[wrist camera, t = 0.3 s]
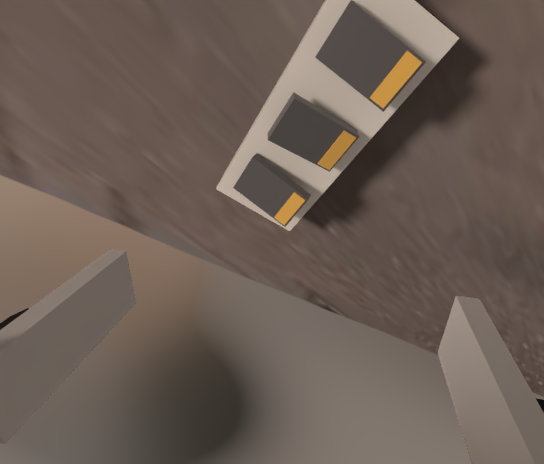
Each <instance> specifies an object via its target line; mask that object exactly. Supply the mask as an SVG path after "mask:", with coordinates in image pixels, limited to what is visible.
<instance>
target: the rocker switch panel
mask: <svg viewBox="0 0 544 464" xmlns="http://www.w3.org/2000/svg"><path fill="white" fill-rule="evenodd" d="M350 1H351V0H325V1H324V3H323V4H322V6H321V8H320V10H319V11H318V13H317V15H316V17H315V18H314V20H313V22H312V23H311V25H310V27H309V29H308V30H307V32H306V34H305V35H304V37H303V39H302V41H301V42H300V44H299V46H298V47H297V49H296V51H295V53H294V54H293V56H292V58H291V59H290V61H289V63H288V65H287V66H286V68H285V70H284V71H283V73H282V75H281V77H280V78H279V80H278V82H277V83H276V85H275V87H274V89H273V90H272V92H271V94H270V96H269V97H268V99H267V101H266V102H265V104H264V106H263V108H262V109H261V111H260V113H259V114H258V116H257V118H256V120H255V121H254V123H253V125H252V126H251V128H250V130H249V132H248V133H247V135H246V137H245V138H244V140H243V142H242V144H241V145H240V147H239V149H238V150H237V152H236V154H235V156H234V157H233V159H232V161H231V162H230V164H229V166H228V168H227V169H226V171H225V173H224V175H223V177H222V179H221V180H220V182H219V184H218V186H217V188H216V189H217V190H219V191H220V192H222V193H224V194H226V195H227V196H229V197H231V198H232V199H234V200H236V201H238V202H239V203H241V204H243V205H245V206H246V207H248V208H250V209H252V210H253V211H255V212H257V213H259V214H260V215H262V216H264V217H266V218H267V219H269V220H271V221H273V222H274V223H276V224H278V225H280V226H281V227H283V228H285V229H287V230H288V231H290V230H291V229H292V228H293V227H294V226H295V225H296V224H297V223H298V221H299V220H300V219H301V218H302V217H303V216H304V215H305V213H306V212H307V211H308V210H309V209H310V208H311V207H312V205H313V204H314V203H315V202H316V201H317V200H318V199H319V198H320V196H321V195H322V194H323V193H324V192H325V191H326V190H327V188H328V187H329V186H330V185H331V184H332V183H333V182H334V180H335V179H336V178H337V177H338V176H339V175H340V174H341V172H342V171H343V170H344V169H345V168H346V167H347V166H348V165H349V163H350V162H351V161H352V160H353V159H354V158H355V157H356V155H357V154H358V153H359V152H360V151H361V150H362V149H363V147H364V146H365V145H366V144H367V143H368V142H369V141H370V139H371V138H372V137H373V136H374V135H375V134H376V133H377V132H378V130H379V129H380V128H381V127H382V126H383V125H384V124H385V122H386V121H387V120H388V119H389V118H390V117H391V116H392V114H393V113H394V112H395V111H396V110H397V109H398V108H399V107H400V105H401V104H402V103H403V102H404V101H405V100H406V99H407V97H408V96H409V95H410V94H411V93H412V92H413V91H414V89H415V88H416V87H417V86H418V85H419V84H420V83H421V81H422V80H423V79H424V78H425V77H426V76H427V75H428V74H429V72H430V71H431V70H432V69H433V68H434V67H435V66H436V64H437V63H438V62H439V61H440V60H441V59H442V58H443V56H444V55H445V54H446V53H447V52H448V51H449V50H450V48H451V47H452V46H453V45H454V44H455V43H456V42H457V41H458V39H459V37H457V36H456V35H455V34H454V33H453V32H452V31H450V30H449V29H448V28H447V27H446V26H444V25H443V24H442V23H441V22H440V21H439V20H437V19H436V18H435V17H434V16H433V15H431V14H430V13H429V12H428V11H427V10H425V9H424V8H423V7H422V6H421V5H420V4H418V3H417V2H416V1H415V0H353V1H355V2H356V3H357V4H358V5H359V6H361V7H362V8H363V9H364V10H365V11H367V12H368V13H369V14H370V15H372V16H373V17H374V18H375V19H376V20H378V21H379V22H380V23H381V24H383V25H384V26H385V27H386V28H387V29H389V30H390V31H391V32H392V33H394V34H395V35H396V36H397V37H398V38H400V39H401V40H402V41H403V42H405V43H406V44H407V45H408V46H409V47H411V48H412V49H413V50H414V51H415V52H417V53H418V54H419V55H420V56H422V57H423V58H424V59H425V60H426V63H425V64H424V65H423V66H422V67H421V69H420V70H419V71H418V72H417V73H416V75H415V76H414V77H413V78H412V79H411V80H410V82H409V83H408V84H407V85H406V86H405V87H404V89H403V90H402V91H401V92H400V93H399V94H398V96H397V97H396V98H395V99H394V100H393V101H392V103H391V104H390V105H389V106H388V107H387V108H386V110H385V111H384V112H383V111H382V110H380V109H379V108H378V107H377V106H375V105H374V104H373V103H372V102H370V101H369V100H368V99H367V98H365V97H364V96H363V95H362V94H360V93H359V92H358V91H357V90H355V89H354V88H353V87H352V86H350V85H349V84H348V83H347V82H345V81H344V80H343V79H342V78H340V77H339V76H338V75H337V74H335V73H334V72H333V71H332V70H330V69H329V68H328V67H327V66H325V65H324V64H323V63H322V62H320V61H319V60H318V59H317V58H315V57H316V55H317V53H318V52H319V50H320V49H321V47H322V45H323V44H324V42H325V41H326V39H327V37H328V36H329V34H330V33H331V31H332V29H333V28H334V26H335V25H336V23H337V21H338V20H339V18H340V17H341V15H342V14H343V12H344V10H345V9H346V7H347V6H348V4H349V2H350ZM293 92H294V93H296V94H297V95H299V96H301V97H302V98H304V99H306V100H307V101H309V102H311V103H313V104H314V105H316V106H318V107H319V108H321V109H323V110H324V111H326V112H328V113H329V114H331V115H333V116H334V117H336V118H338V119H340V120H341V121H343V122H345V123H346V124H348V125H350V126H351V127H353V128H355V129H356V130H357V131H358V134H359V138H358V139H357V140H356V141H355V142H354V144H353V145H352V146H351V147H350V148H349V149H348V151H347V152H346V153H345V154H344V155H343V157H342V158H341V159H340V160H339V161H338V162H337V164H336V165H335V166H334V167H333V168H332V170H331V171H330V172H329V171H327V170H325V169H323V168H321V167H319V166H317V165H315V164H314V163H312V162H310V161H308V160H306V159H304V158H302V157H300V156H298V155H296V154H294V153H292V152H290V151H288V150H286V149H284V148H282V147H280V146H278V145H276V144H274V143H272V142H270V141H268V132H269V130H270V129H271V127H272V125H273V124H274V122H275V121H276V119H277V117H278V116H279V114H280V113H281V111H282V110H283V108H284V106H285V105H286V103H287V102H288V100H289V98H290V97H291V95H292V94H293ZM256 153H257V154H259V155H260V156H261V157H263V158H264V159H265V160H267V161H268V162H269V163H270V164H272V165H273V166H274V167H276V168H277V169H278V170H280V171H281V172H282V173H283V174H285V175H286V176H287V177H289V178H290V179H291V180H293V181H294V182H295V183H296V184H298V185H299V186H300V187H302V188H303V189H304V190H306V191H307V192H308V193H310V194H311V196H310V198H309V200H308V201H307V202H306V203H305V204H304V206H303V207H302V208H301V209H300V210H299V211H298V213H297V214H296V215H295V216H294V217H293V218H292V220H291V221H290V222H289V223H288V224H287V225H286V227H284V226H283V225H282V224H280V223H279V222H278V221H276V220H275V219H274V218H272V217H271V216H270V215H268V214H267V213H266V212H264V211H263V210H262V209H260V208H259V207H258V206H256V205H255V204H254V203H252V202H251V201H250V200H249V199H247V198H246V197H245V196H243V195H242V194H241V193H239V192H238V191H237V190H235V189H234V188H233V187H234V185H235V184H236V182H237V181H238V179H239V178H240V176H241V174H242V173H243V171H244V170H245V168H246V166H247V165H248V163H249V162H250V160H251V158H252V157H253V156H254V155H255V154H256Z"/></svg>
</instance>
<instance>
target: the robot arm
mask: <svg viewBox="0 0 544 464" xmlns="http://www.w3.org/2000/svg"><path fill="white" fill-rule="evenodd" d="M135 304H136V299H135V294H134V289H133V284H132V279H131V274H130V269H129V264H128V259H127V253H126V252H125V251H120V250H111V249H110V250H109V251H107V252H106V253H104V254H103V255H102V256H100V257H99V258H98V259H96V260H95V261H94V262H92V263H91V264H89V265H88V266H87V267H85V268H84V269H83V270H81V271H80V272H79V273H78V274H76V275H74V276H73V277H72V278H70V279H69V280H68V281H66V282H65V283H64V284H62V285H61V286H60V287H58V288H57V289H55V290H54V291H53V292H52V293H50V294H49V295H47V296H46V297H45V298H43V299H42V300H41V301H39V302H38V303H37V304H35V305H34V306H33V307H31V308H30V309H29V308H27V309H25V310H23V311H21V312H19V313H17V314H15V315H13V316H10V317H9V318H7V319H6V320H5V321H3V322H2V323H0V443H4V444H6V443H7V442H8V440H10V438H11V437H12V436H13V435H14V434H15V433H16V432H17V431H18V430H19V429H20V428H21V426H23V425H24V423H25V422H26V421H27V420H28V419H29V418H30V417H31V416H32V415H33V414H34V413H35V412H36V411H37V409H38V408H39V407H40V406H41V405H42V404H43V403H44V402H45V401H46V400H47V399H48V398H49V396H50V395H51V394H52V393H53V392H54V391H55V390H56V389H57V388H58V387H59V386H60V385H61V384H62V382H63V381H64V380H65V379H66V378H67V377H68V376H69V375H70V374H71V373H72V372H73V371H74V370H75V368H76V367H77V366H78V365H79V364H80V363H81V362H82V361H83V360H84V359H85V358H86V357H87V356H88V355H89V353H90V352H91V351H92V350H93V349H94V348H95V347H96V346H97V345H98V344H99V343H100V342H101V341H102V339H103V338H104V337H105V336H106V335H107V334H108V333H109V332H110V331H111V330H112V329H113V328H114V327H115V325H116V324H117V323H118V322H119V321H120V320H121V319H122V318H123V317H124V316H125V315H126V314H127V313H128V311H129V310H130V309H131V308H132V307H133V306H134V305H135ZM438 356H439V359H440V362H441V366H442V369H443V372H444V375H445V379H446V382H447V385H448V388H449V391H450V395H451V398H452V401H453V405H454V408H455V411H456V414H457V417H458V421H459V424H460V427H461V431H462V434H463V437H464V440H465V443H466V447H467V450H468V453H469V457H470V460H471V463H472V464H544V400H541V399H536V398H535V397H534V395H533V393H532V391H531V390H530V388H529V386H528V384H527V382H526V381H525V379H524V377H523V375H522V374H521V372H520V370H519V368H518V367H517V365H516V363H515V361H514V359H513V358H512V356H511V354H510V352H509V351H508V349H507V347H506V345H505V343H504V342H503V340H502V338H501V336H500V335H499V333H498V331H497V329H496V328H495V326H494V324H493V322H492V320H491V319H490V317H489V315H488V313H487V312H486V310H485V308H484V306H483V304H482V303H481V301H480V299H476V298H468V297H461V296H456V298H455V301H454V304H453V307H452V310H451V313H450V316H449V319H448V322H447V325H446V328H445V332H444V335H443V338H442V341H441V344H440V347H439V350H438Z"/></svg>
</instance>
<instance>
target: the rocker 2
mask: <svg viewBox="0 0 544 464" xmlns="http://www.w3.org/2000/svg"><path fill="white" fill-rule="evenodd" d="M315 58H317V59H318V60H319V61H320V62H322V63H323V64H324V65H325V66H327V67H328V68H329V69H330V70H332V71H333V72H334V73H335V74H337V75H338V76H339V77H340V78H342V79H343V80H344V81H345V82H347V83H348V84H349V85H350V86H352V87H353V88H354V89H355V90H357V91H358V92H359V93H360V94H362V95H363V96H364V97H365V98H367V99H368V100H369V101H370V102H372V103H373V104H374V105H375V106H377V107H378V108H379V109H380V110H382V111H383V112H384V111H385V110H386V108H387V107H388V106H389V105H390V104H391V103H392V101H393V100H394V99H395V98H396V97H397V96H398V94H399V93H400V92H401V91H402V90H403V89H404V87H405V86H406V85H407V84H408V83H409V82H410V80H411V79H412V78H413V77H414V76H415V75H416V73H417V72H418V71H419V70H420V69H421V67H422V66H423V65H424V64H425V63H426V60H425V59H424V58H423V57H422V56H420V55H419V54H418V53H417V52H415V51H414V50H413V49H412V48H411V47H409V46H408V45H407V44H406V43H405V42H403V41H402V40H401V39H400V38H398V37H397V36H396V35H395V34H394V33H392V32H391V31H390V30H389V29H387V28H386V27H385V26H384V25H383V24H381V23H380V22H379V21H378V20H376V19H375V18H374V17H373V16H372V15H370V14H369V13H368V12H367V11H365V10H364V9H363V8H362V7H361V6H359V5H358V4H357V3H356V2H355V1H353V0H351V1H350V2H349V4H348V6H347V7H346V9H345V10H344V12H343V14H342V15H341V17H340V18H339V20H338V21H337V23H336V25H335V26H334V28H333V29H332V31H331V33H330V34H329V36H328V37H327V39H326V41H325V42H324V44H323V45H322V47H321V49H320V50H319V52H318V53H317V55H316V57H315Z"/></svg>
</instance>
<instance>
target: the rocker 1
mask: <svg viewBox="0 0 544 464" xmlns="http://www.w3.org/2000/svg"><path fill="white" fill-rule="evenodd" d="M233 188H234V189H235V190H237V191H238V192H239V193H241V194H242V195H243V196H245V197H246V198H247V199H249V200H250V201H251V202H252V203H254V204H255V205H256V206H258V207H259V208H260V209H262V210H263V211H264V212H266V213H267V214H268V215H270V216H271V217H272V218H274V219H275V220H276V221H278V222H279V223H280V224H282V225H283V226H284V227H286V225H287V224H288V223H289V222H290V221H291V220H292V218H293V217H294V216H295V215H296V214H297V213H298V211H299V210H300V209H301V208H302V207H303V206H304V204H305V203H306V202H307V201H308V200H309V198H310V196H311V194H310V193H308V192H307V191H306V190H304V189H303V188H302V187H300V186H299V185H298V184H296V183H295V182H294V181H293V180H291V179H290V178H289V177H287V176H286V175H285V174H283V173H282V172H281V171H280V170H278V169H277V168H276V167H274V166H273V165H272V164H270V163H269V162H268V161H267V160H265V159H264V158H263V157H261V156H260V155H259V154H257V153H256V154H255V155H254V156H253V157H252V158H251V160H250V162H249V163H248V165H247V166H246V168H245V170H244V171H243V173H242V174H241V176H240V178H239V179H238V181H237V182H236V184H235V185H234V187H233Z"/></svg>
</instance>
